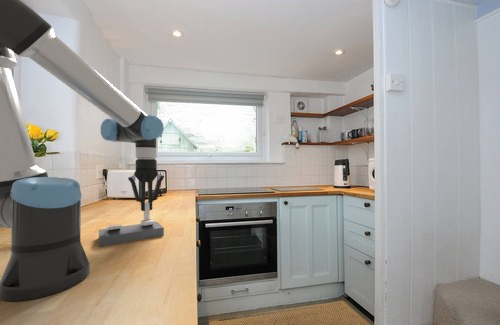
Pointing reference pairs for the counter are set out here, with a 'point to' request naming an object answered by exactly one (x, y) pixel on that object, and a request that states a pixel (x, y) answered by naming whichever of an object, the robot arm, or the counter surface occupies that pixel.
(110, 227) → the left rocker
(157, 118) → the robot arm
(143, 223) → the right rocker
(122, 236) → the power strip
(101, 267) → the counter surface
